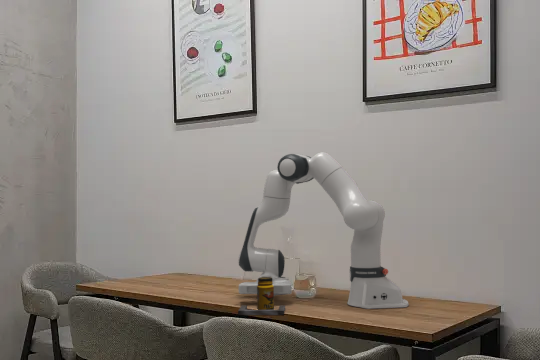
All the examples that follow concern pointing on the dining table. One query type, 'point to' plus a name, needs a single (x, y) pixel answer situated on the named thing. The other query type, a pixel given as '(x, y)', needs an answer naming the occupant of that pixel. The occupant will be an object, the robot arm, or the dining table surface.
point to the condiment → (265, 294)
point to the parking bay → (261, 311)
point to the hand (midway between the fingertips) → (263, 291)
